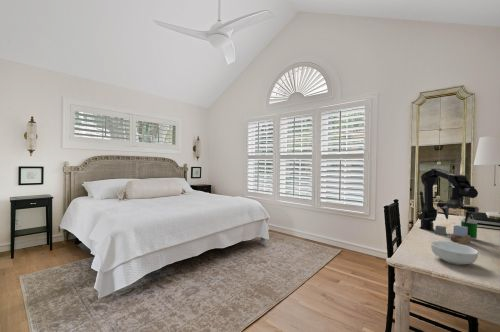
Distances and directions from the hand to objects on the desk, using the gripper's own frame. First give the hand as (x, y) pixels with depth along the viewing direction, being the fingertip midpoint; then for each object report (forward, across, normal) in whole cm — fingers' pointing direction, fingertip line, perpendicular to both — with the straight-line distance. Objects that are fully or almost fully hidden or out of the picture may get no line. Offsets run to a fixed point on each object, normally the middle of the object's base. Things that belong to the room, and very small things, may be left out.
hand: (456, 220), depth 147 cm
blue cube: (+8, +2, 0) cm, 8 cm away
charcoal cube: (+12, -10, +7) cm, 17 cm away
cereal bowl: (+12, +14, -42) cm, 46 cm away
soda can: (+12, +2, +12) cm, 18 cm away
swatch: (+12, -4, +5) cm, 13 cm away
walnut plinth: (+12, +3, 0) cm, 12 cm away
